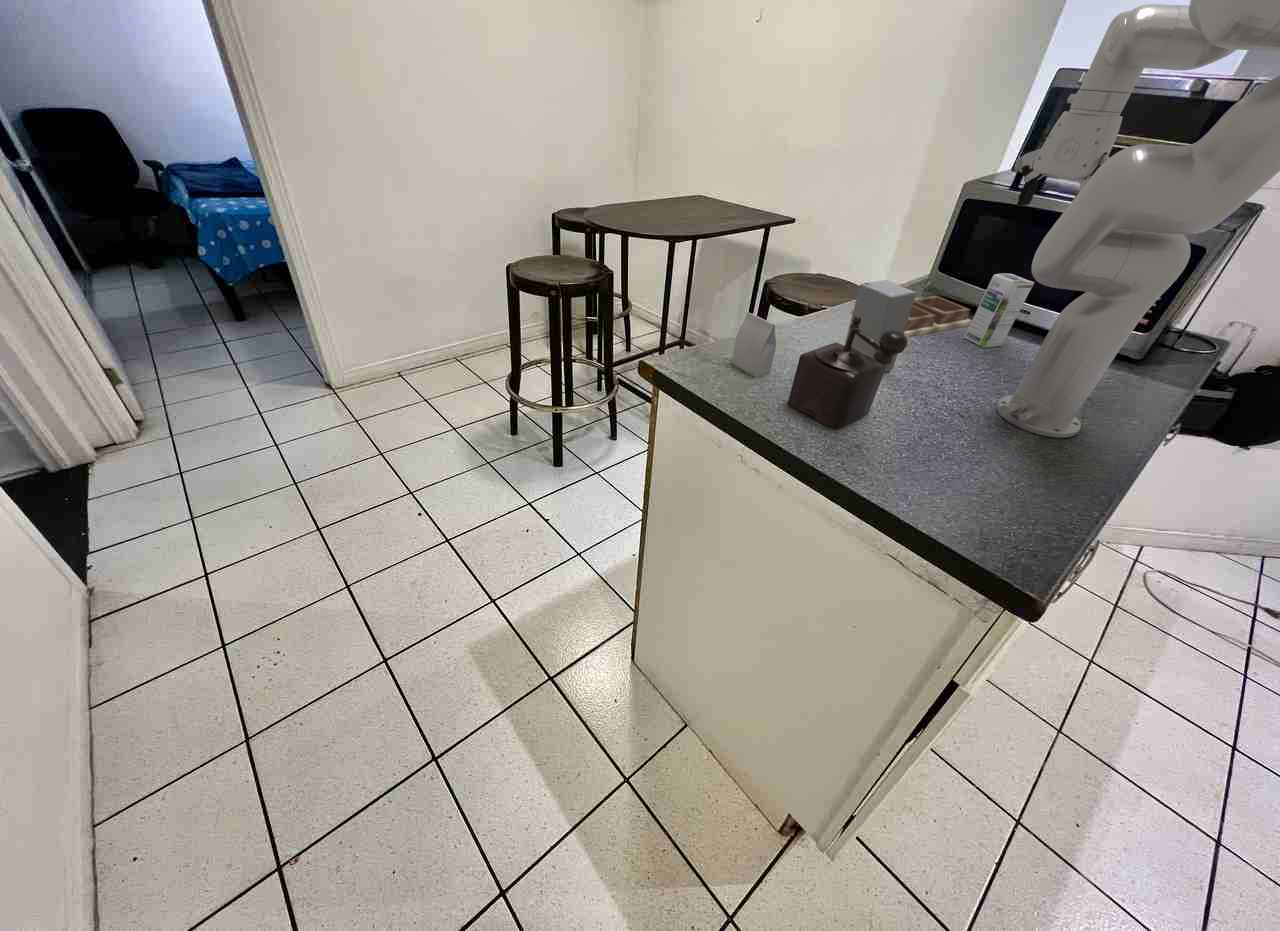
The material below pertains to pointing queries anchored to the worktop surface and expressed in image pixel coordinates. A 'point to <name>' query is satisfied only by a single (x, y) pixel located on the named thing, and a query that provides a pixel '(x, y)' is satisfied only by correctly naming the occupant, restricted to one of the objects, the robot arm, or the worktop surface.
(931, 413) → the worktop surface
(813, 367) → the manual coffee grinder
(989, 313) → the syrup box
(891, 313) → the skincare box
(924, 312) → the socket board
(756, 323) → the white paper bag
